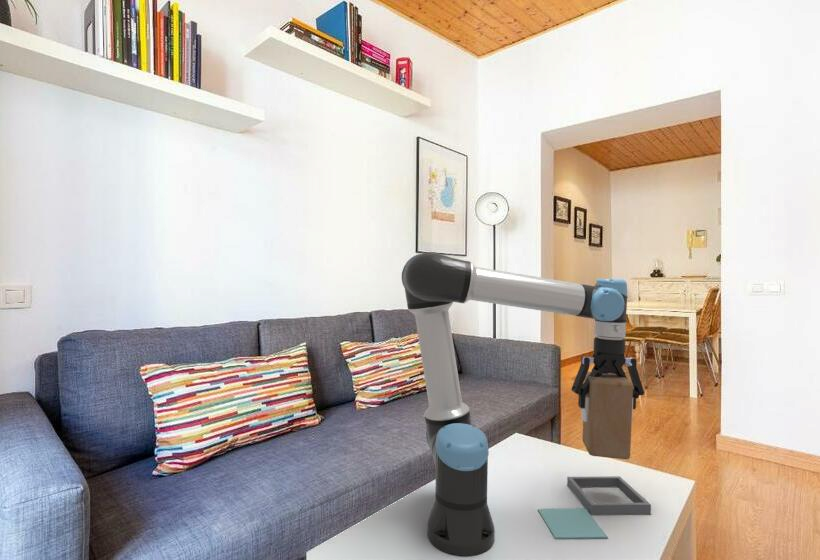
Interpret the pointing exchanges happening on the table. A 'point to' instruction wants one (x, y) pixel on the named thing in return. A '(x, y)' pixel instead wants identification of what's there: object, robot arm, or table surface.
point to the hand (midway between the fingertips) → (606, 420)
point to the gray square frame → (634, 508)
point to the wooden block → (609, 416)
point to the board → (571, 523)
